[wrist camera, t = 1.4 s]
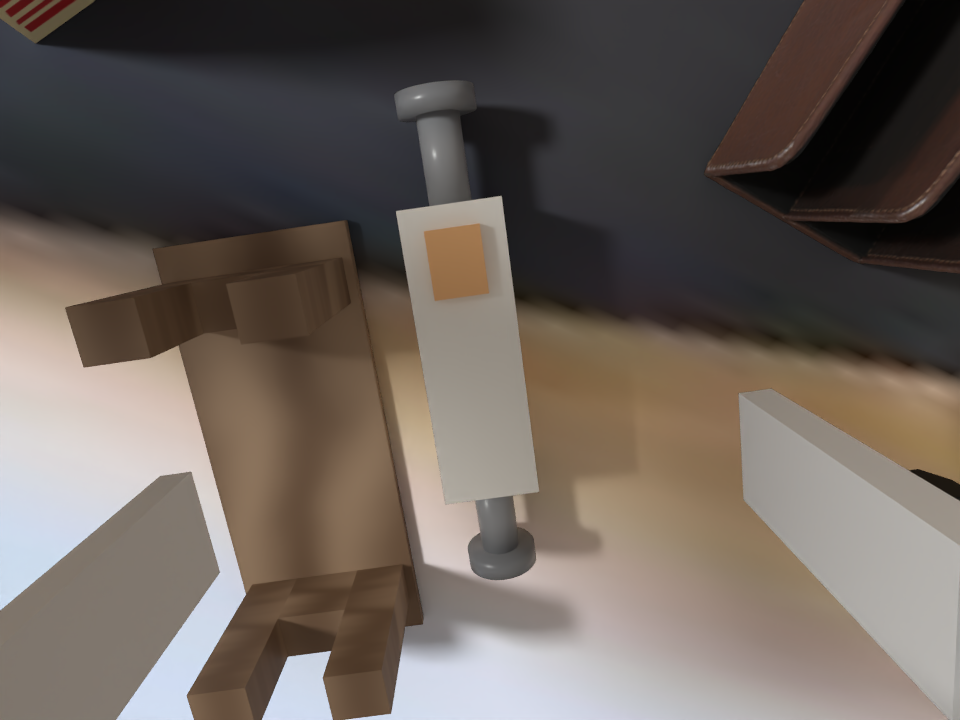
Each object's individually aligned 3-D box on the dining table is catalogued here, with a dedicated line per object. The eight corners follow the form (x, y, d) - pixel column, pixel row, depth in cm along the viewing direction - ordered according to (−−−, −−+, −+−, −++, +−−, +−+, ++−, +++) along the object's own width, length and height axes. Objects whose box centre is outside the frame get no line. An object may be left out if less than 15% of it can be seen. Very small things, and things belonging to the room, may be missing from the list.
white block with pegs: (462, 536, 36) (460, 600, 30) (392, 108, 30) (372, 84, 24) (539, 526, 36) (552, 589, 30) (483, 95, 30) (486, 67, 24)
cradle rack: (263, 639, 37) (199, 770, 28) (158, 248, 31) (37, 262, 23) (423, 617, 37) (408, 743, 28) (347, 220, 31) (298, 223, 22)
